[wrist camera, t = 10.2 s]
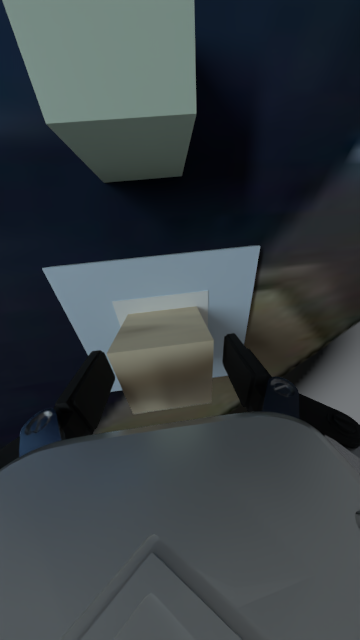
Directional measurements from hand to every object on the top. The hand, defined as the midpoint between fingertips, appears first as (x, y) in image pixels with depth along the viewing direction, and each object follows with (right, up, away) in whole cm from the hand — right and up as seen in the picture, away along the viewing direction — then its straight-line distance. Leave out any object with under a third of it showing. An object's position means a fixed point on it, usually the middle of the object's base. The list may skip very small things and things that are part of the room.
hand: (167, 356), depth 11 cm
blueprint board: (0, +2, +3) cm, 4 cm away
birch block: (0, +1, +3) cm, 3 cm away
